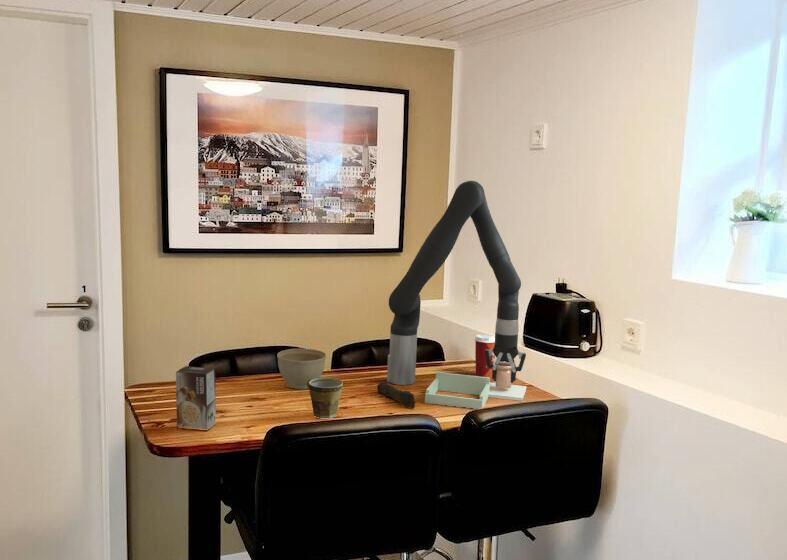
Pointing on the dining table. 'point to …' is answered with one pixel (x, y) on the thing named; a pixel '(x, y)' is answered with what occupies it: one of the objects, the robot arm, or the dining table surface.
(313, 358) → the planter bowl
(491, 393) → the pale green square plate
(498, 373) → the lidded jar
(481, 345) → the coffee cup
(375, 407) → the dining table surface
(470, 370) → the dining table surface
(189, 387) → the coffee box
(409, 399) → the hand tool
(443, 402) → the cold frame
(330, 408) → the ceramic cup
